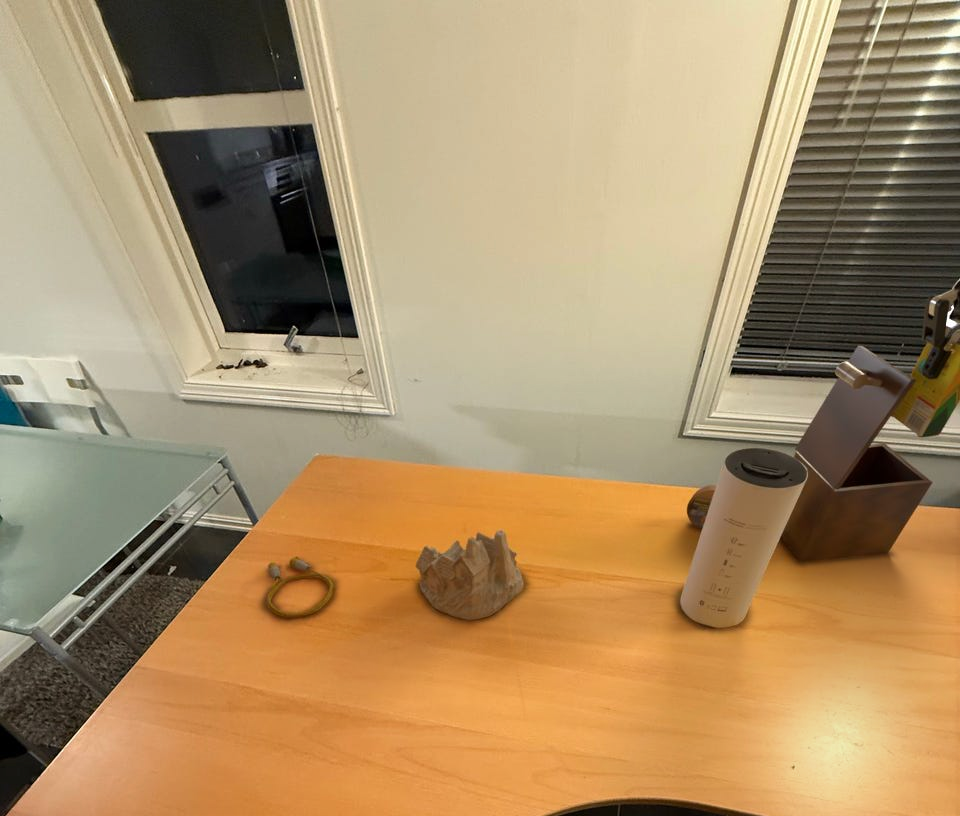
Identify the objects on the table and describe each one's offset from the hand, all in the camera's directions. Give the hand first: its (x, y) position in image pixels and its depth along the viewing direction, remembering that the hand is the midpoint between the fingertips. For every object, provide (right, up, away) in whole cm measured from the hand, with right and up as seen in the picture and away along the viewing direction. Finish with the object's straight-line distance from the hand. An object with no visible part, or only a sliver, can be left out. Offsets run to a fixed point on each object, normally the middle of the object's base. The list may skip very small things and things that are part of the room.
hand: (941, 375), depth 74 cm
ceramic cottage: (-65, -27, +22) cm, 73 cm away
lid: (-6, -2, +9) cm, 11 cm away
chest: (+1, -17, +26) cm, 31 cm away
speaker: (-25, -31, +15) cm, 43 cm away
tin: (-17, -16, +29) cm, 37 cm away
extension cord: (-96, -27, +24) cm, 102 cm away
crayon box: (0, -5, +5) cm, 7 cm away
